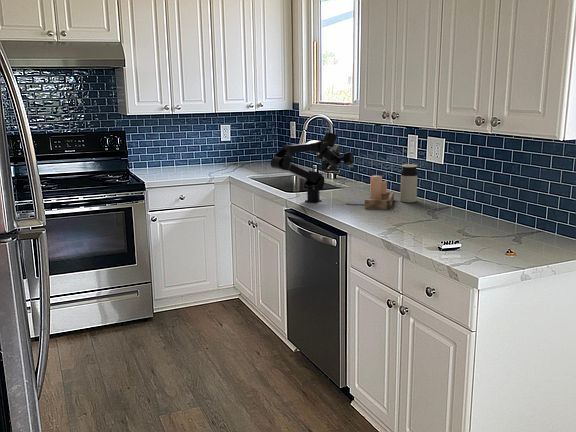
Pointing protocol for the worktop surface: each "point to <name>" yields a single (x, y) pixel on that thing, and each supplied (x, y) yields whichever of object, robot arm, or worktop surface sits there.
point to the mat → (356, 202)
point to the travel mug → (408, 183)
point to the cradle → (381, 202)
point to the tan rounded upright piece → (377, 187)
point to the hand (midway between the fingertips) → (346, 169)
